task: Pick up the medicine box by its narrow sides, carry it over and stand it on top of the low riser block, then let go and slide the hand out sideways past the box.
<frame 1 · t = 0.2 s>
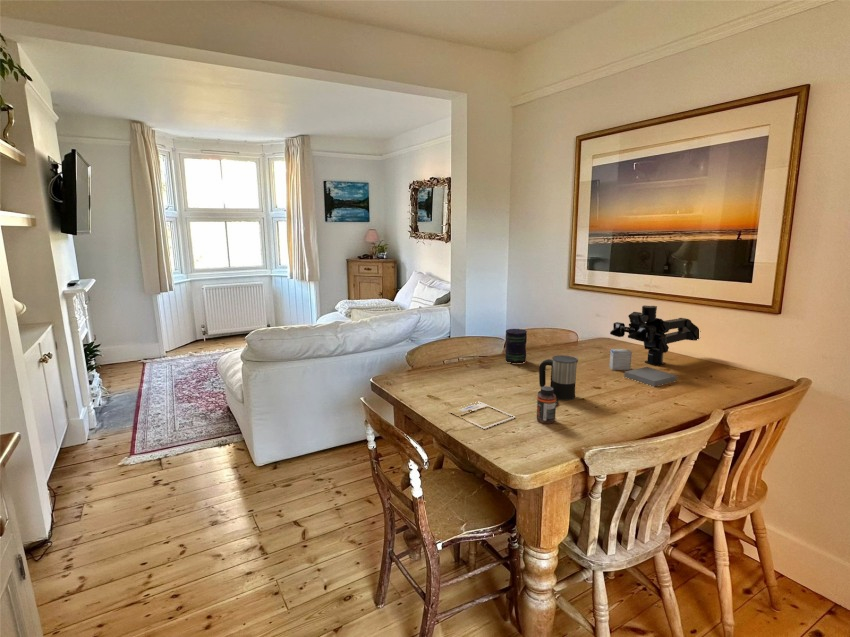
hand: (619, 334, 196), 17 cm above the table, tool horizontal, fingers open, 9 cm apart
photo frame: (481, 416, 154), on the table
storage jar: (515, 361, 216), on the table
milk frother: (556, 399, 168), on the table
supplement bottle: (545, 421, 149), on the table
medicine box: (619, 369, 202), on the table
riser block: (649, 380, 188), on the table
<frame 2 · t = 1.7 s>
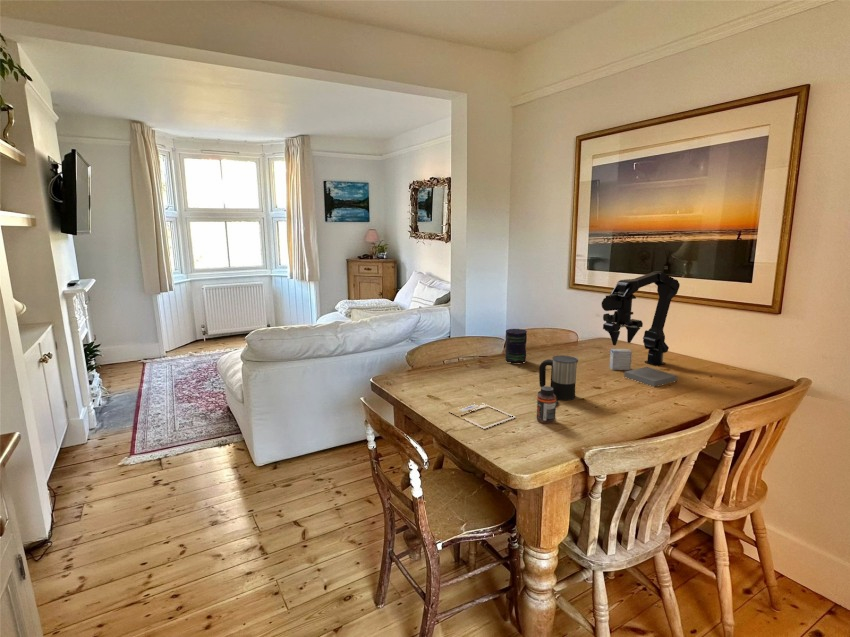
hand: (621, 344, 200), 11 cm above the table, tool pointing down, fingers open, 9 cm apart
nothing on the table moved.
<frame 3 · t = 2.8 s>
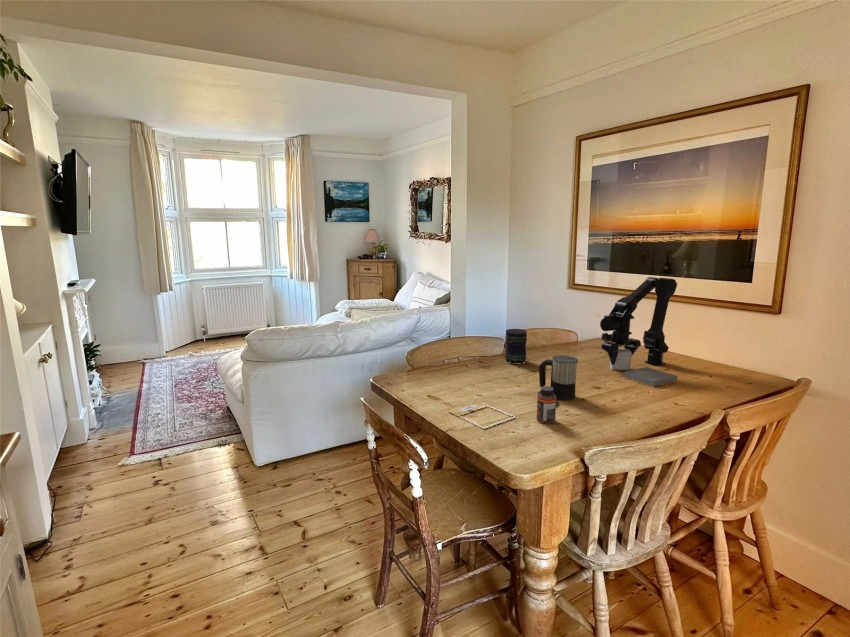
hand: (619, 363, 202), 3 cm above the table, tool pointing down, fingers closed on medicine box, 9 cm apart
medicine box: (619, 369, 202), on the table, touching gripper
everything else where it was.
when the fingers open (6 cm above the table, at t = 9.6 s): medicine box drops 2 cm, point 2 cm above the table.
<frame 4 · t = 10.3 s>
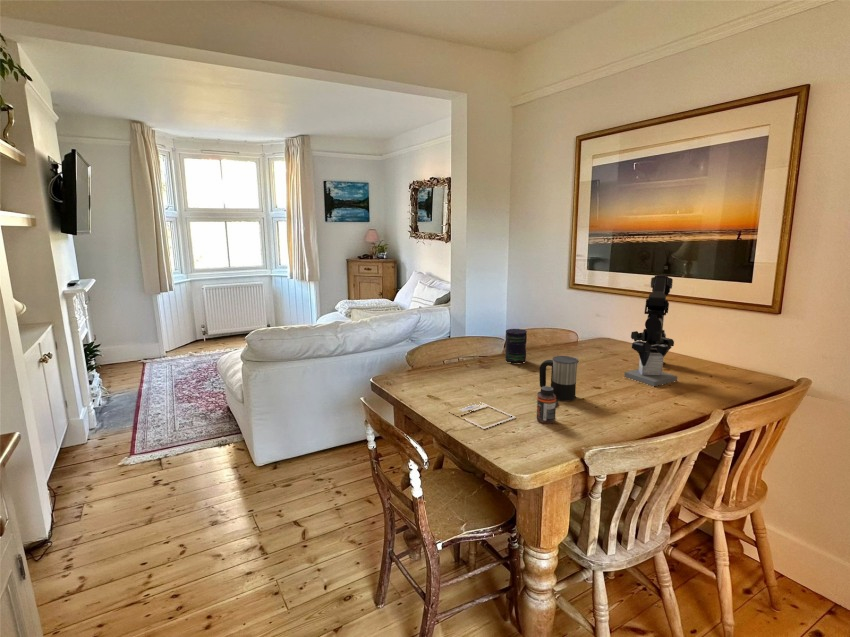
hand: (651, 364, 187), 7 cm above the table, tool pointing down, fingers open, 9 cm apart
medicine box: (650, 374, 188), point 2 cm above the table, touching gripper
everything else where it was.
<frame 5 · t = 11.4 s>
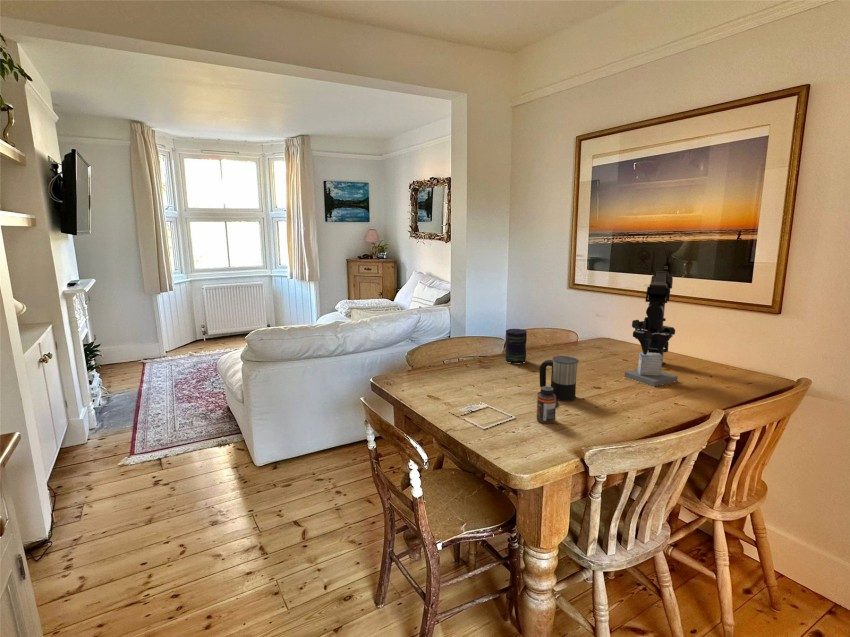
hand: (652, 352, 186), 11 cm above the table, tool pointing down, fingers open, 9 cm apart
medicine box: (648, 374, 187), point 2 cm above the table
everything else where it was.
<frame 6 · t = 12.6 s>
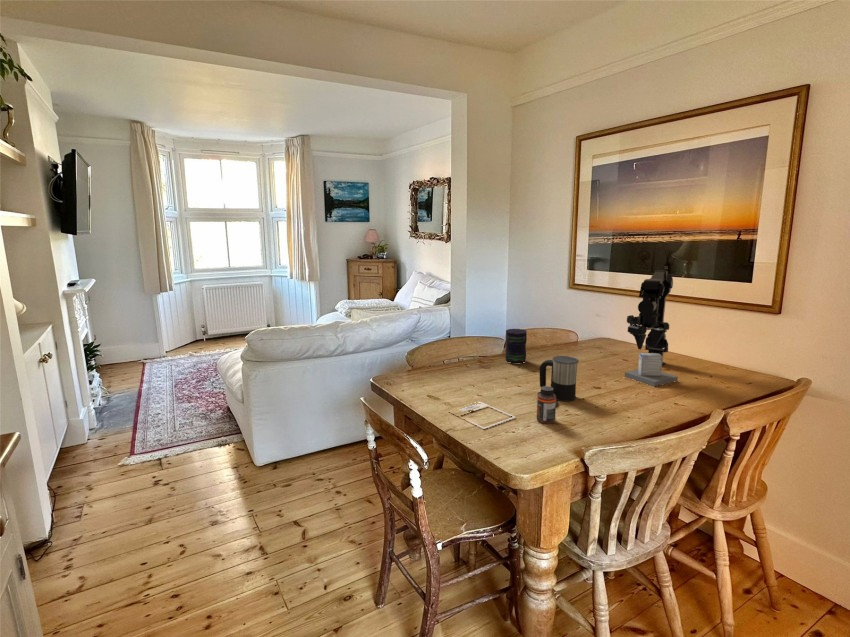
hand: (647, 347, 188), 13 cm above the table, tool pointing down, fingers open, 9 cm apart
medicine box: (649, 375, 187), point 2 cm above the table, touching riser block
riser block: (650, 381, 188), on the table, touching medicine box
everything else where it was.
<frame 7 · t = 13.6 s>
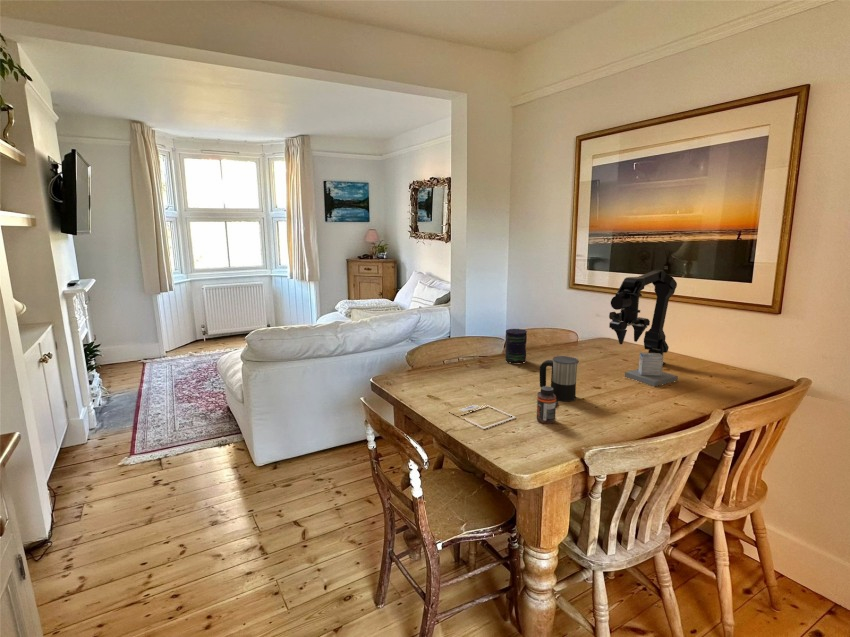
hand: (628, 342, 196), 13 cm above the table, tool pointing down, fingers open, 9 cm apart
nothing on the table moved.
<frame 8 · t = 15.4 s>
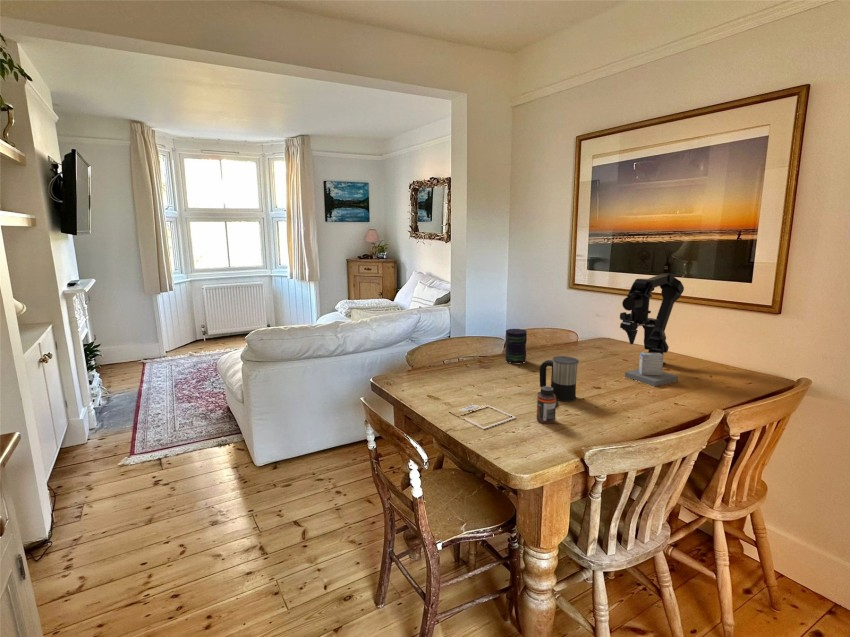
hand: (638, 343, 199), 12 cm above the table, tool pointing down, fingers open, 9 cm apart
at the end: medicine box inside the target area on the riser block (0.4 cm from its centre), point 2.9 cm above the riser block's base; medicine box tilted 1°; the gripper is holding nothing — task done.
